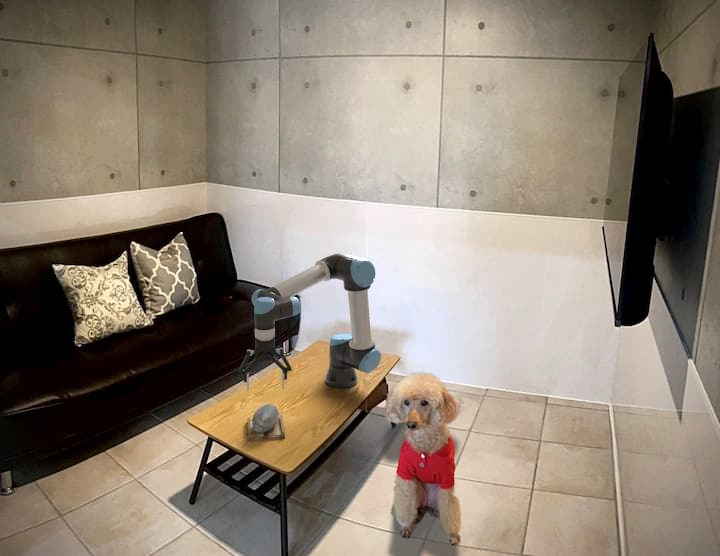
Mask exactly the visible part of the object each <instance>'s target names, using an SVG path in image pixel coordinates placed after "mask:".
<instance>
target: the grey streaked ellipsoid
mask: <svg viewBox="0 0 720 556" xmlns="http://www.w3.org/2000/svg"><path fill="white" fill-rule="evenodd" d="M278 418H279V410H278V408H277V407H276V406H275V405H273V404H271V403H269V404H268V403H267V404H264V405H263V406H261V407H259V408H257V410H256V411H255V412H254V414H253V416H252V419H251V420H252V425H253V429H254V430H255V431H256V432H258V433H264V432H267V431H269V430H271V429H272V428H273V427H274V426H275V425H276V423H277V421H278Z"/></svg>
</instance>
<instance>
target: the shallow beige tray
mask: <svg viewBox="0 0 720 556" xmlns="http://www.w3.org/2000/svg"><path fill="white" fill-rule="evenodd" d="M246 419H247V421H246V423H247V438H248V442H255V441H267V440H270V441H271V440H281V439H285V438H286V436H285V435H286V433H285V427H284V421H283V415H282V414H281V415H279V416H278V421H277V423H276V425H275V426H274V427H273V428H272V429H271V430H269V431H267V432H264V433H258V432H256V431H255V430H254V429H253V425H252V420H253V419H251V418H250V417H249V416H248V417H246Z"/></svg>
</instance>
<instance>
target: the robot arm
mask: <svg viewBox="0 0 720 556" xmlns="http://www.w3.org/2000/svg"><path fill="white" fill-rule="evenodd" d="M336 279H337V280H340V281H342V282H343V288H344V289H343V290H345V291H346V292H347V297H348V307H349V308H348V309H349V319H350V328H351V329H350V331H351V333H339V334H335V335H332V337H330V339H329V345H328V346H329V366H328V369H327V372H326V374H325V377H324V378H325V380H324V381H325V383H326V384H327V385H328V386H330V387H333V388H335V389H347V388H352V387H354V386H356V384H357V382H358V376H357V372H356V370H357V371H359V372H361V373H365V374H370V373H373V372H374V371H375V370H376V369H377V368H378V367H379V365H380V362H381V358H382V353H381V351H380V350H379V349H377V348H376V342H375V340H374V339H373V338H372V334H371V333H372V331H371V321H370V319H371V317H370V307H369V306H370V305H369V304H370V303H369V296H368V295H369V294H368V293H369V292H368V291H369V289H371V285H372V284H373V283H374V281H375V280H374V279H376V268H375V265H374V264H373V262H371V260H368V259H366V258H365V257H361V256H355V255H352V254H347V253H346V252H345V253H343V252H340V253H335V254H332V255H329V256H326V257H324V258H322V259H319V260H318V261H316V262H315V263H314V265H313V266H311V267H308V268H307V269H305V270H303V271H301V272H299V273H297V274H295V275H294V276H291V277H289V278H287V279H285V280H283V281H281V282H279V283H278V284H276V285H274V286H272V287H269V288H267V289H263V288H262V289H261V288H258V289H256V290H255V291H254V292H253V293H252V295H251V304H253V306H254V307H253V312H254V313H253V314H254V337H255V338H254V349H250V348H247V349H246V354H245V356H244V359H243V361H242V363H241V364H240V366H239V368H238V374H239V375H243V382H244V383H246V391H247V392H249V391H250V378H249V377H250V376H249V375H250V374H249V372H251V370H252V369H253V368H254V366H255V365H256V364H257V363H259V362H265V361H266V362H269V361H271V362H274V364H276V366H277V367H278V368H279V369H281V389H285V381H287V380H288V372H291V371H292V366H291V364H290V362H289V360H288V358H287V357H286V355H285V354H284V350H283V349H284V348H283V347H279V348H276V347H275V346H276V343H275V342H276V339H275V337H276V335H275V334H276V333H275V331H276V329H275V326H276V325H275V324H276V322H275V321H280V320H283V319H287V318H292V317H294V316H297V315H298V314H300V312H301V309H302V307H301V302H300V300H299V298H297V297H296V296H297V295H299V294H300V293H303V292H304V291H306V290H308V289H310V288H312V287H315V286H316V285H318V284H320V283H321V282H328V281H330V280H336ZM276 353H277V354H278V355H280V357H281V359H282V360H283V363H284V364H283V363H282V362H281V361H280V360H279V359H278V357H276V356H275V355H276ZM253 354H254V356H255V357H253V359H252V360H251V362H249V360H250V357H252V356H253ZM248 362H249V364H248Z"/></svg>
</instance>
